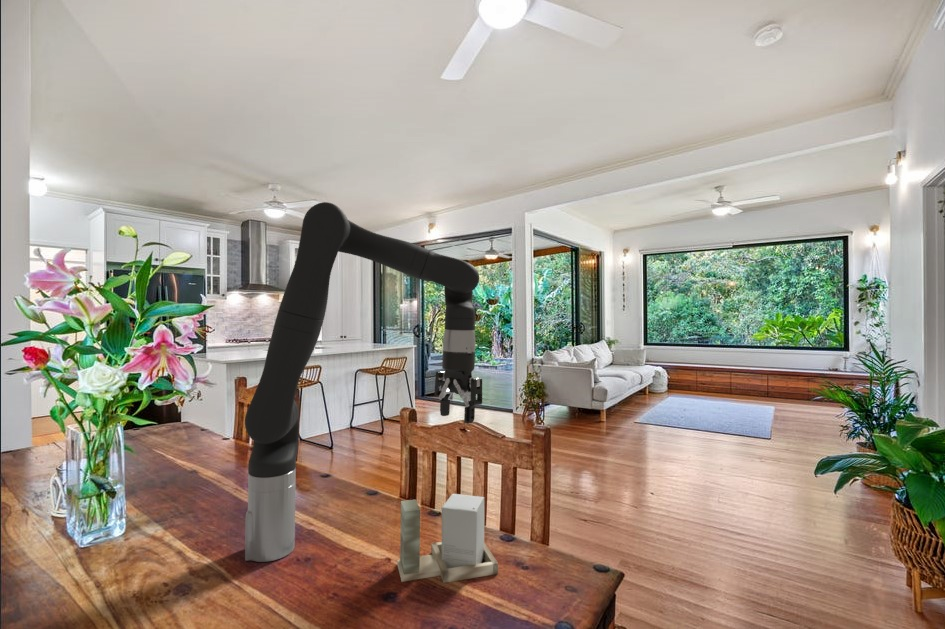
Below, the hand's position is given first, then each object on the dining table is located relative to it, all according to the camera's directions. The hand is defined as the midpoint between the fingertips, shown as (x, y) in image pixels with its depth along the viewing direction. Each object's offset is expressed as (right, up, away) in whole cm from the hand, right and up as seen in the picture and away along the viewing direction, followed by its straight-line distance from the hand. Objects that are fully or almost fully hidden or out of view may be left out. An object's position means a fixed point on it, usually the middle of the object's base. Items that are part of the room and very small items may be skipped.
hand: (456, 419), depth 103 cm
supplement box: (+2, -27, -12) cm, 29 cm away
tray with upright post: (-2, -26, -13) cm, 30 cm away
